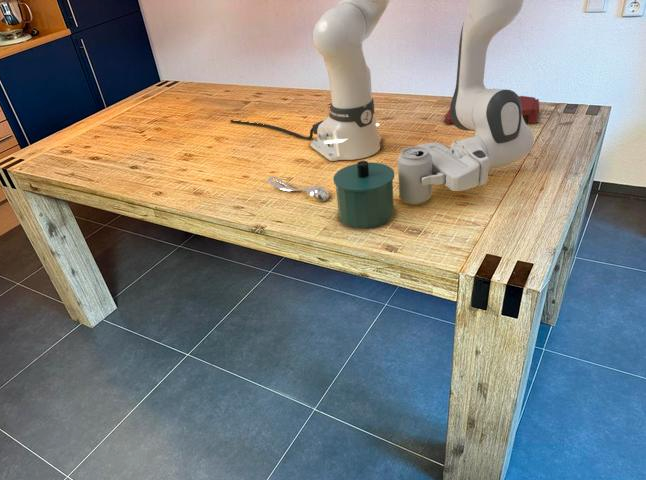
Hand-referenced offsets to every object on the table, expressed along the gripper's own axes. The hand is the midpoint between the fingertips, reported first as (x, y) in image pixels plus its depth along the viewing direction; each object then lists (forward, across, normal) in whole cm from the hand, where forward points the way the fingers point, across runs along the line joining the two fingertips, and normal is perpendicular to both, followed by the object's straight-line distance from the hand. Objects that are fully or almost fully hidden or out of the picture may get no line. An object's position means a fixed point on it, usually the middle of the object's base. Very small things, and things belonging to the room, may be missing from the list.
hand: (411, 174), depth 116 cm
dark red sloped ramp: (-44, -32, +7) cm, 55 cm away
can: (-1, 0, +7) cm, 7 cm away
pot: (+12, 0, +7) cm, 14 cm away
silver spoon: (+22, -20, +7) cm, 31 cm away
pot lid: (+12, 0, -3) cm, 12 cm away
